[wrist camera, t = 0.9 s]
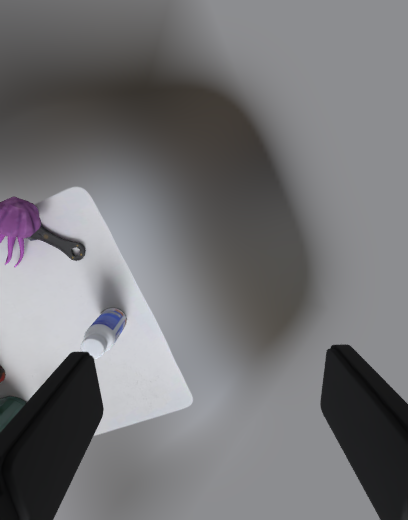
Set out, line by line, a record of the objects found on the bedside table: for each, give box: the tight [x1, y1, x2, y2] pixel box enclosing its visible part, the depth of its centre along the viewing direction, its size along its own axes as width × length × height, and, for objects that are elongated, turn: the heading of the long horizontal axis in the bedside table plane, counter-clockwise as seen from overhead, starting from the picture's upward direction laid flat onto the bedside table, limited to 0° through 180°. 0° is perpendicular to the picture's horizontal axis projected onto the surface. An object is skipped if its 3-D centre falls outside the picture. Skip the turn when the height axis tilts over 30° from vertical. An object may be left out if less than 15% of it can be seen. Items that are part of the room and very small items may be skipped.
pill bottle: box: [81, 308, 126, 359], centre depth 42 cm, size 5×5×10 cm
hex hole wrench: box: [27, 226, 85, 261], centre depth 42 cm, size 4×20×1 cm, turn 61°
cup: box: [0, 396, 26, 432], centre depth 50 cm, size 8×8×7 cm
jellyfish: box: [0, 197, 41, 267], centre depth 39 cm, size 7×7×15 cm
